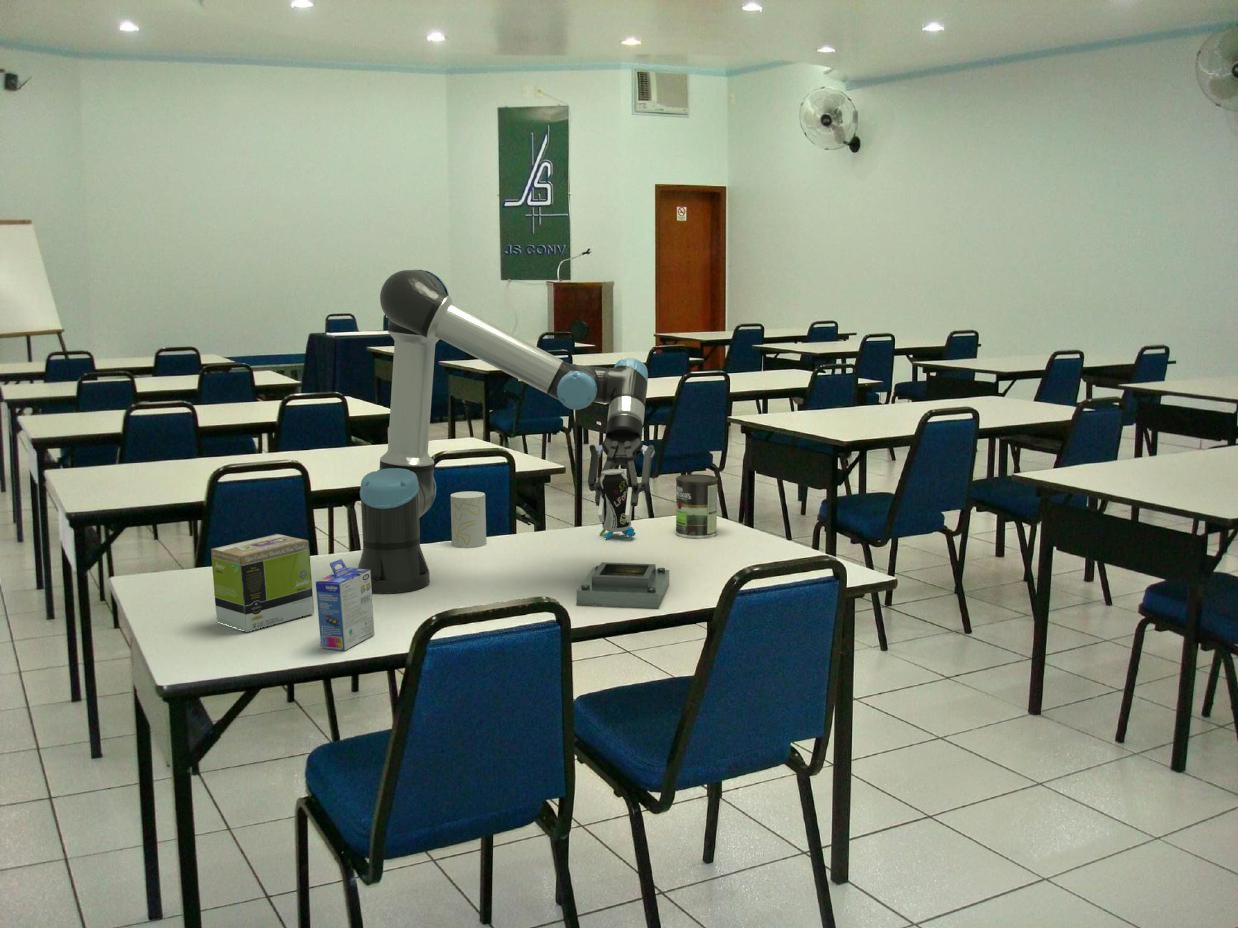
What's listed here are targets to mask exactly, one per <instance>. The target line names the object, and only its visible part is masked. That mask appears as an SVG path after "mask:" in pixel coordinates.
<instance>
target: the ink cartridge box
mask: <svg viewBox="0 0 1238 928" xmlns="http://www.w3.org/2000/svg"><path fill="white" fill-rule="evenodd" d="M337 565H341V566H342V567H341V568H338V569H336V566H337ZM329 566H330V568H331V570H332V574H329V575H327V576H325V577H323V578H321V579H319V580H317V581H315V590H316V591H315V592H316V602H317V616H318V625H319V628H318V629H319V639H320V647H322V649H328V650H335V651H341V652H344V651H347V650H348V649H350V648H353V647H354V646H356V645H357V644H359V643H362V642H363V641H364V640H366V639H367V640H368V639H369V638H371V637H372V636H374V635H375V623H374V620H375V619H374V606H373V605H374V604H373V592H372V588H371V573H370V570H369V569H359V568H358V567H357V568H356V567H347V566H346V564H345V562H344V560H343V559H342V558H340V559H338V560H335V561H333V562H330V563H329Z"/></svg>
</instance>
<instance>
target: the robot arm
mask: <svg viewBox="0 0 1238 928" xmlns="http://www.w3.org/2000/svg"><path fill="white" fill-rule="evenodd" d="M379 295H380V296H379V302H380V306H381V310H382V311H383V314H384V315H385V316H386V317H387V318H388V325H387V333H388V334H389V335H390V336H391V338H392V339H393V341H394V346H393V359H392V360H393V361H392V364H393V365H392V378H391V393H390V394H391V395H390V396H391V397H390V411H389V424H388V425H389V427H388V441H387V442H388V443H387V451H386V452H385V453H384V454H383V455H382V456H380V458H379V469H378V470H376V471H371V472H369V473H366V474H365V475H364V476H363V477H362V479H361V482H360V490H359V497H360V508H361V509H360V510H361V511H360V512H361V528H362V529H361V530H362V531H361V532H362V553H361V556H360V560H359V563H358V566H357V568H359V569H369V570H370V573H371V588H372V594H373V593H375V594H398V593H405V592H412V591H416V590H419V589H422V588H424V587H427V586H428V585H429V584H430V583H431V577H430V575H431V574H430V573H431V572H430V569H429V566H428V564H427V561H426V559H425V555H424V553H423V550H422V548H421V538H420V537H421V532H420V531H421V530H420V518H421V517H422V516H423V515H425V514H426V513H427V512H428V511H429V510H430V509H431V507H432V506H433V504H434V502H435V498H436V495H437V483H436V480H435V477H434V472H435V460H434V459H433V458H432V457H431V456H430V455H429V443H430V442H429V441H430V440H429V439H430V428H431V426H430V424H431V413H432V412H431V410H432V397H433V384H434V383H433V382H434V368H435V367H434V366H435V353H436V351H435V350H436V344H437V343H438V342H439V340H442V342H445V343H447V344H449V345H451V346H452V347H455V348H457V349H459V350H461V351H462V352H465V353H467V354H469V355H470V356H472V357H474V358H476V359H478V360H480V361H482V362H484V363H486V364H488V365H490V366H493V367H494V368H496V369H497V370H500V371H502V372H503V373H506V374H507V375H510V376H512V377H513V378H515V379H517V380H520V381H521V382H524V383H525V384H528V385H529V386H531V387H533V388H535V389H537V390H539V391H541V392H543V393H545V394H547V395H549V396H550V397H552V398H553V399H555V400H558V401H559V402H560V403H561V404H562V405H563V406H564V407H566V408H568V409H570V410H575V411H578V410H581V409H582V410H584V409H585V408H587V407H588V406H590V405H592V403H601V404H609V406H608V412H607V413H608V414H607V423H606V429H605V436H604V438H605V439H604V440H603V441H602V443H601V444H599V445H597V446H595V444H590V445H589V448H588V449H589V452H590V462H589V469H588V476H587V477H588V479H587V485H588V488H589V491H590V492H595V494H594V495H595V496H594V502H595V505H596V507H598V510H597V511H598V513H597V515H598V520H599V523H602V522H604V499H603V498H602V496H601V495H600V489H599V478H600V477H601V475H602V474H601V473H600V475H599V477H598V471H599V464H600V463H599V462H600V461H599V458H601V456H602V454H603V452H604V454H605V456H606V461H605V463H604V465H603V467H602V469H601V472H602V471H604V470H610V469H616V465H617V464H620V463H622V464H627V465H628V470H629V476H630V482H631V486H628V493H627V503H626V512H625V516H626V521H627V522H631V523H632V512H633V507H637V506H638V504H639V495H640V493H641V492H648V491H649V489H650V488H649V487H650V479H651V477H650V476H651V468H652V462H653V459H654V457H655V456H656V451H655V446H654V445H653V444H649V445H648V446H647V445H644V444H643V432H644V431H643V430H644V422H645V421H644V420H645V409H646V403H647V402H646V401H647V393H648V381H649V380H648V379H649V372H648V368H647V366H646V365H645V363H644V362H642V361H641V360H639V359H637V358H632V357H627V358H624V359H622V358H621V359H620V360H618V361H617V362H616V363H615V364H614V366H613V367H602V366H601V367H599V366H592V365H583V364H575V363H570V362H566V361H564V360H562V359H561V358H558V356H555V355H553V354H552V353H549V352H547V351H545V350H543V349H542V348H540V347H538V346H535V345H534V344H532V343H530V342H528V341H526V340H524V339H522V338H520V337H518V336H516V335H514V334H512V333H511V332H509V331H506V330H504V329H503V328H501V327H499V326H497V325H495V324H494V323H491V322H490V321H487V320H485V319H483V318H482V317H479V316H478V315H476V314H473V313H472V312H470V311H468V310H466V309H464V308H462V307H461V306H458V305H457V304H455V303H453V299H452V298H451V295H450V294H449V290H448V287H447V285H446V283H445V282H444V281H443V280H442V279H441V277H439V276H438V275H437V274H434V273H433V272H430V271H429V270H424V269H406V270H405V269H404V270H400V271H396V272H394V273H393V274H391V275H390V276H389V277H388V278H387V279H386V280H385V281H384V283H383V284H382V287H381V290H380V293H379ZM641 453H642V455H643V463H642V473H641V482H638V476H637V471H636V465H635V459H636V458H637V457H638V456H639V455H640V454H641Z"/></svg>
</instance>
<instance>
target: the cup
mask: <svg viewBox="0 0 1238 928" xmlns="http://www.w3.org/2000/svg"><path fill="white" fill-rule="evenodd" d="M486 515H487V514H486V493H485V492H482V491H474V490H473V491H459V492H454V493H451V494H450V516H451V517H450V518H451V519H450V520H451V545H452V547H454V548H458V549H459V548H461V549H474V548H480V547H483V546H484V547H485V546H486V545H487V517H486Z"/></svg>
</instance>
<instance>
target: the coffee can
mask: <svg viewBox="0 0 1238 928" xmlns="http://www.w3.org/2000/svg"><path fill="white" fill-rule="evenodd" d="M718 482H719V479H718V477H717V476H714V475H712V474H711V475H709V474H698V473H695V474H693V473H692V474H682V475H678V476H676V477H675V483H676V487H675V488H676V491H675V494H676V497H675V499H676V501H675V503H676V505H675V534H676V536H678V537H681V538H686V539H700V540H701V539H708V538H713V537H716V536H718V532H717V531H718V530H717V527H718V526H717V523H718V521H717V520H718V514H717V513H718Z"/></svg>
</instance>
